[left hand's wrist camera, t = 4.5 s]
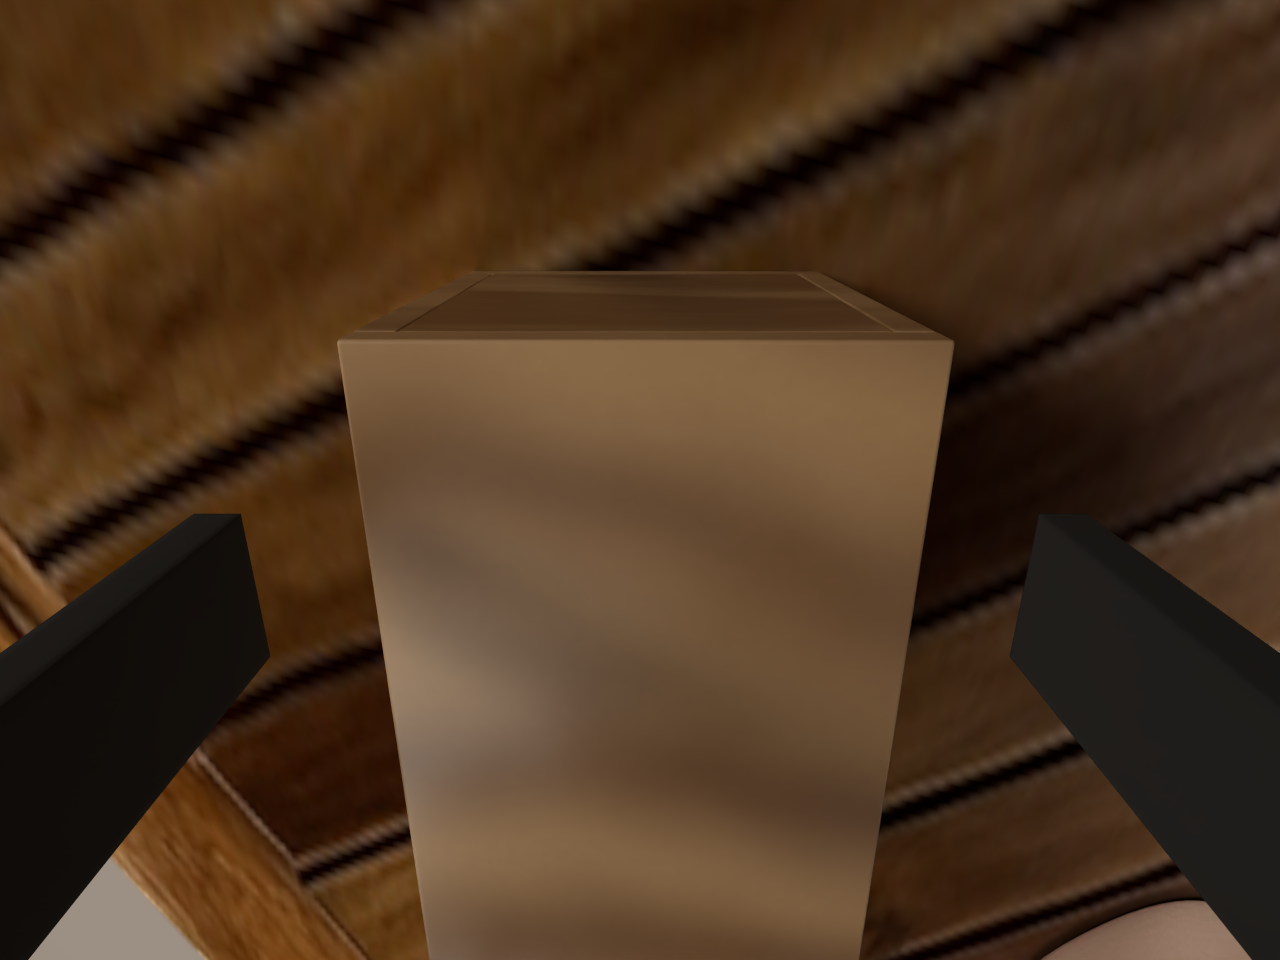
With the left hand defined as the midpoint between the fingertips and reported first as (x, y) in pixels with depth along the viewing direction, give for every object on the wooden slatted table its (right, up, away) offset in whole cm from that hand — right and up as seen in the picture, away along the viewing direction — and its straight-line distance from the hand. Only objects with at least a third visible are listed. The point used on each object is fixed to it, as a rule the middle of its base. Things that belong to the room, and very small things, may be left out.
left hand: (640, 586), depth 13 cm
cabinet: (0, -1, +14) cm, 14 cm away
